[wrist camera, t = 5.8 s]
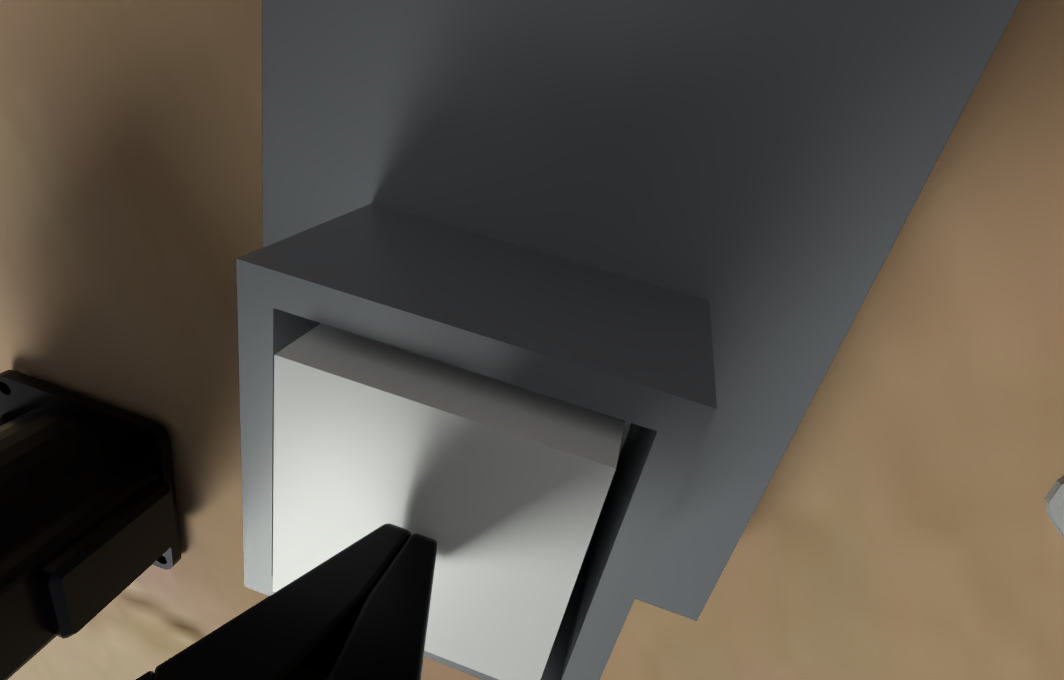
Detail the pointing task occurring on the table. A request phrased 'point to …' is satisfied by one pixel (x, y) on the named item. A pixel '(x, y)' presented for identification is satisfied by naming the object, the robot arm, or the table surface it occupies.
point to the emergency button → (1056, 505)
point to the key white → (441, 487)
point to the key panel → (599, 231)
